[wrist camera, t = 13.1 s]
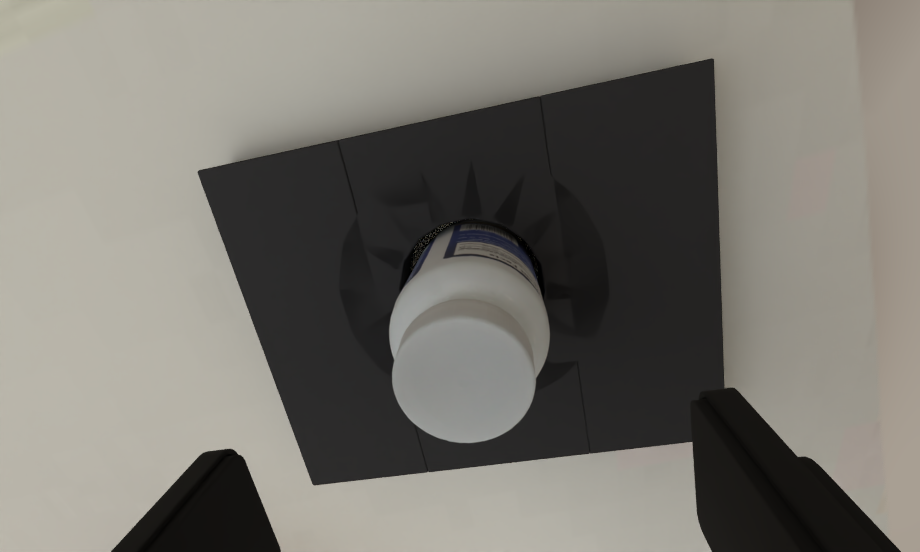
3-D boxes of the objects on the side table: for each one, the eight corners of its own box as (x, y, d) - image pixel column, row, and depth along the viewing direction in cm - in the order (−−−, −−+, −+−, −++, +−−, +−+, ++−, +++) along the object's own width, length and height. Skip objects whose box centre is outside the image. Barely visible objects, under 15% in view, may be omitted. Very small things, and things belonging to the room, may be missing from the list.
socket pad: (686, 66, 18) (714, 57, 16) (702, 406, 23) (726, 438, 21) (229, 165, 21) (196, 170, 18) (329, 452, 26) (312, 486, 23)
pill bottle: (457, 343, 23) (433, 491, 14) (398, 254, 22) (327, 352, 12) (554, 292, 22) (598, 417, 12) (496, 195, 20) (499, 254, 11)
